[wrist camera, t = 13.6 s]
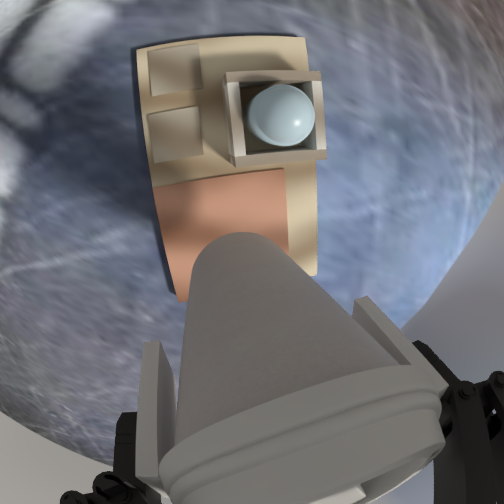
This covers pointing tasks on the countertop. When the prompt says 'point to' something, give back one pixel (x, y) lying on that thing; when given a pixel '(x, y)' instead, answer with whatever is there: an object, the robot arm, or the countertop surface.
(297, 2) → the countertop surface
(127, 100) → the countertop surface
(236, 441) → the coffee cup
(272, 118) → the dome
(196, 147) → the board
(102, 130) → the countertop surface
